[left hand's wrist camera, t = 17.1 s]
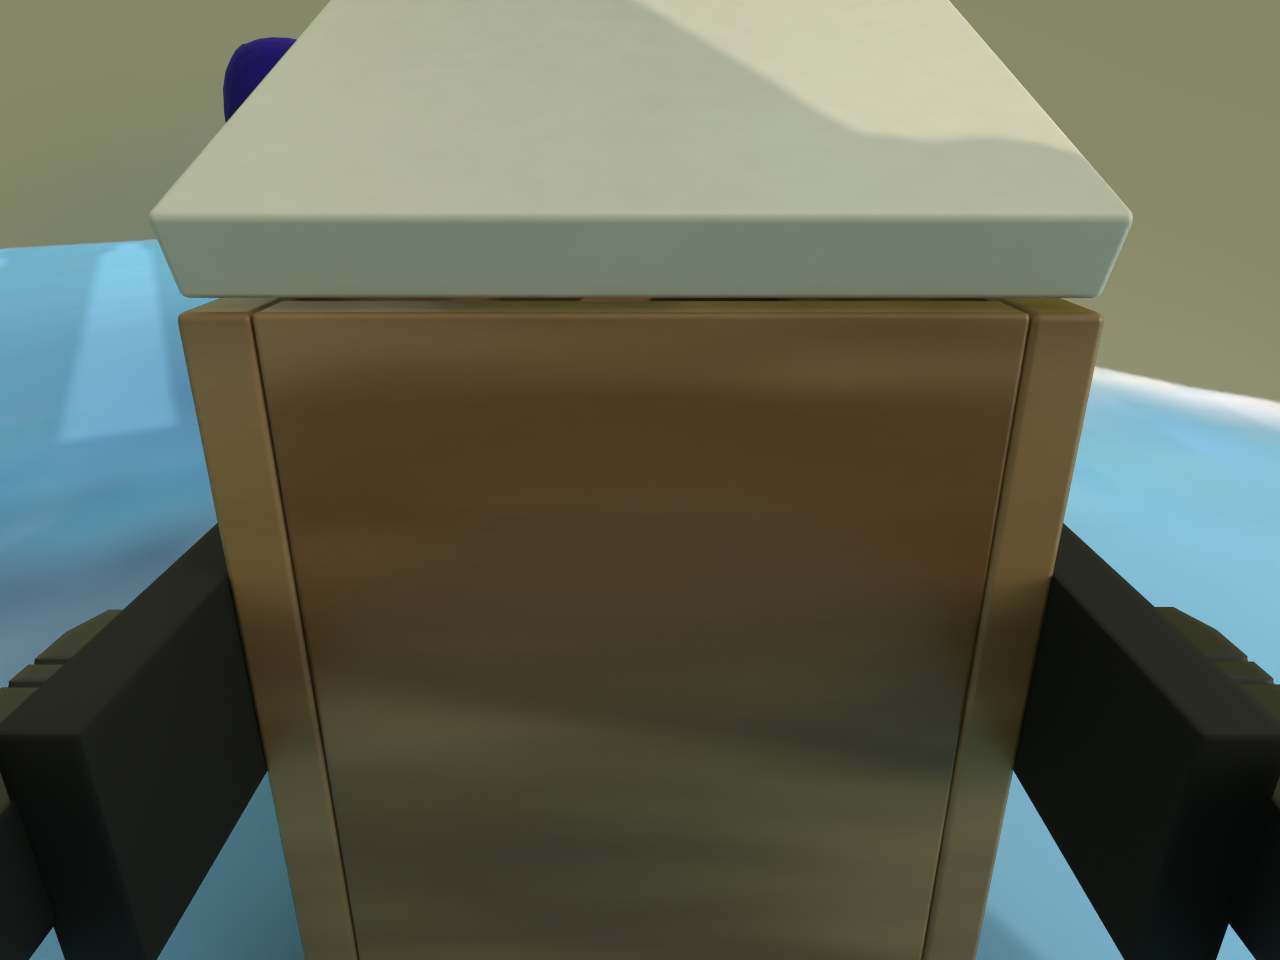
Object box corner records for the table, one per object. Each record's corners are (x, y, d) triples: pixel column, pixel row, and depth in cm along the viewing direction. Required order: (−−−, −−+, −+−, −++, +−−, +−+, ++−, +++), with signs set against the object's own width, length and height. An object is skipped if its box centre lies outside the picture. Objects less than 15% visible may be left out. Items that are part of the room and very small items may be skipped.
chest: (494, 543, 27) (470, 200, 24) (783, 543, 27) (807, 200, 24) (318, 1044, 12) (170, 313, 8) (961, 1043, 12) (1110, 312, 8)
